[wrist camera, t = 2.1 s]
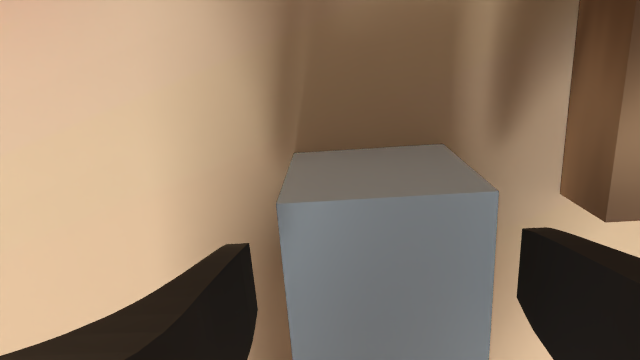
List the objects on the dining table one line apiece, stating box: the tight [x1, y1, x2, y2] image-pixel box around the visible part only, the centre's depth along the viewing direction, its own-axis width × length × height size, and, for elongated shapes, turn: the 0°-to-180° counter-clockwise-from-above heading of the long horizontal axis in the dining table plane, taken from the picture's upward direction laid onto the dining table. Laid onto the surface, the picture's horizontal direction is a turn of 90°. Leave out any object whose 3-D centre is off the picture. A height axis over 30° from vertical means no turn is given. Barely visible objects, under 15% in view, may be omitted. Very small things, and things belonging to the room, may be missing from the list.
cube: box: [276, 144, 499, 360], centre depth 13 cm, size 5×5×5 cm
